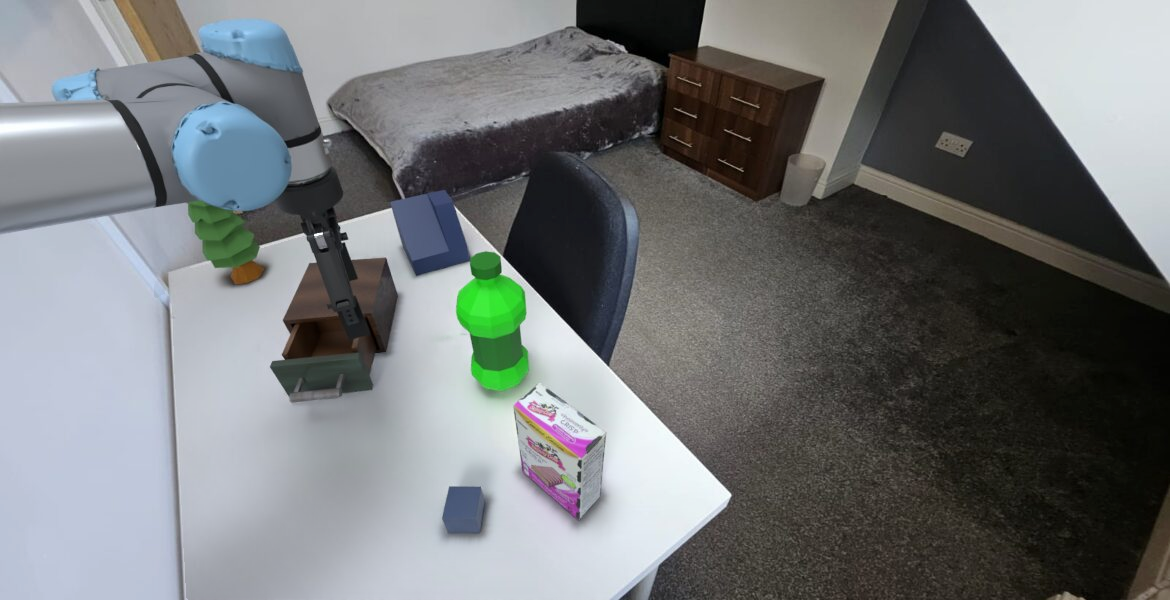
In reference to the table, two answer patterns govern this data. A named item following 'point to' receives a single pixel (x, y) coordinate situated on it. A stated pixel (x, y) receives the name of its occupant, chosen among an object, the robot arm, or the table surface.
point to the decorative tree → (226, 241)
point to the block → (463, 509)
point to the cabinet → (369, 289)
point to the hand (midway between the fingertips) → (353, 306)
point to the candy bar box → (560, 449)
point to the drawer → (325, 361)
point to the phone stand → (430, 232)
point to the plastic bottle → (494, 323)
